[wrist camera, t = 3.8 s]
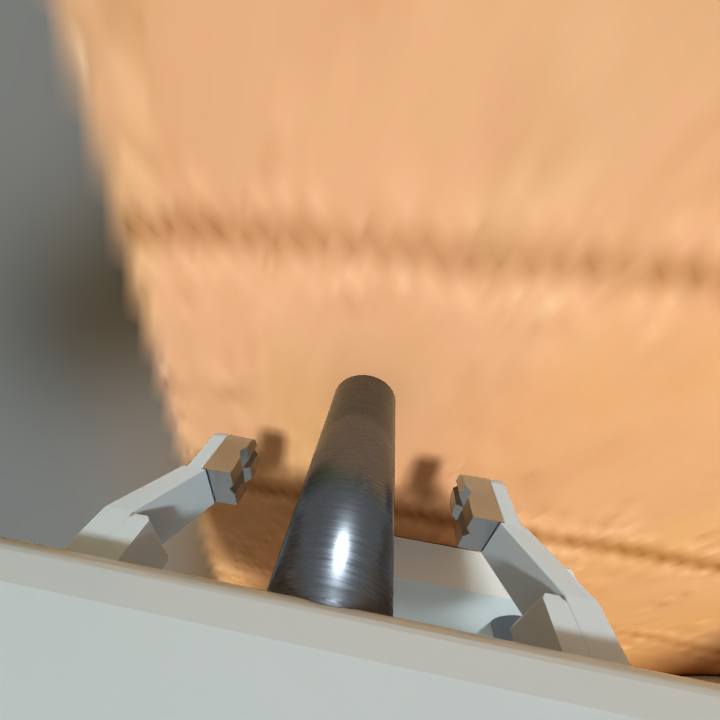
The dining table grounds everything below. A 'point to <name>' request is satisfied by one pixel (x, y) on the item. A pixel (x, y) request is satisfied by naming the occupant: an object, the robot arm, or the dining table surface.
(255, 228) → the dining table surface
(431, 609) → the stool seat
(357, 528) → the stool leg
